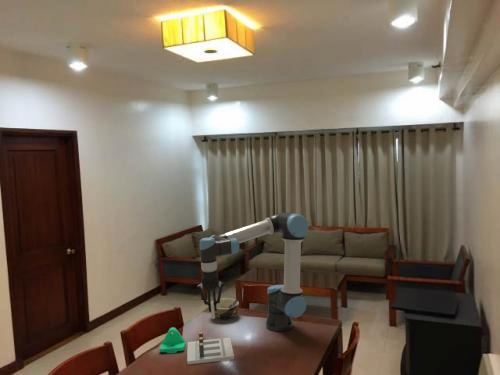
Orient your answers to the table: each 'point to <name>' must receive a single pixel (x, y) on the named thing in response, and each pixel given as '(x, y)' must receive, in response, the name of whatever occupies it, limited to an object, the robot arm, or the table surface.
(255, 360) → the table surface
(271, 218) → the robot arm
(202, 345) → the breaker
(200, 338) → the breaker
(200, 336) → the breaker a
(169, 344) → the camera mount
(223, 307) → the bowl
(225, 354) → the panel
